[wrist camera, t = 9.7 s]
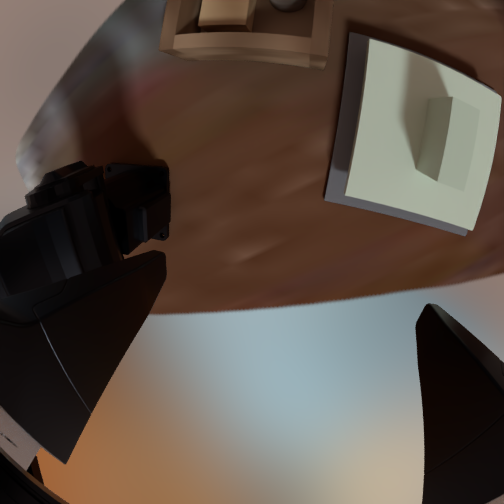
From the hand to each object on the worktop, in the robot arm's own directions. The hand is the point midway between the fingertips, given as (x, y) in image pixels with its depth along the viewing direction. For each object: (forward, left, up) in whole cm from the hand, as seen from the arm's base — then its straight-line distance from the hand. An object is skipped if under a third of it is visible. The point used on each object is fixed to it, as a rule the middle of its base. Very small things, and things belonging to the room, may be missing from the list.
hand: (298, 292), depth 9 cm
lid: (+8, +6, -13) cm, 16 cm away
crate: (-5, +14, -13) cm, 20 cm away
